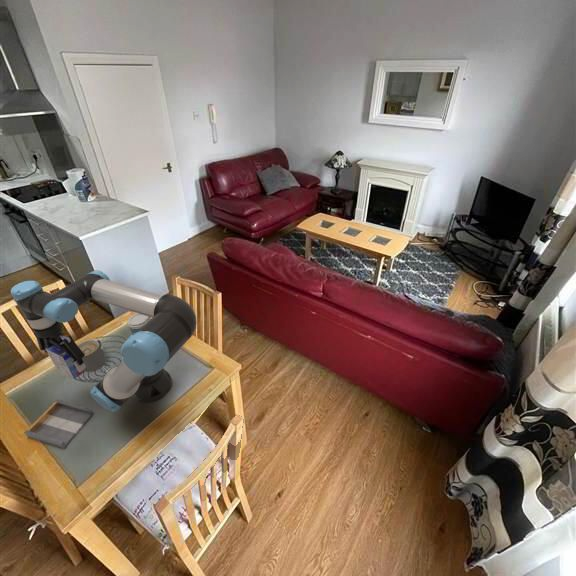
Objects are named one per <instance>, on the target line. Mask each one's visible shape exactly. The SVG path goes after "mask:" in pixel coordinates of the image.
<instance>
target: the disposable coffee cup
mask: <svg viewBox="0 0 576 576" xmlns="http://www.w3.org/2000/svg"><path fill="white" fill-rule="evenodd" d="M151 319H152V318H151V317H148V316H145V315H142V314H139V313H135V314H133V315H131V316H130V317H129V318H128V320H127V321H126V324H127V327H128V328H129V329H130V331H131V333H132V335H133V334H134V333H135V332H137V331H138V330H139V329H140V328H141V327H142V326H144V325H145V324H146V323H147V322H148V321H149V320H151Z"/></svg>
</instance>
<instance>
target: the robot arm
mask: <svg viewBox="0 0 576 576" xmlns="http://www.w3.org/2000/svg"><path fill="white" fill-rule="evenodd" d="M10 295H11V296H12V298H13V301H14V302H15V304H16V305H17V306H18V308H19V309H20V311H21V312H22V314H23V316H24V318H25V319H26V321H27V322H28V325H30V327H31V328H32V331H33V335H34V336H35V338H36V340H37V345H38V348H39V350H40V351H44V352H45V353H46V354H47V355H48V357H49V358H50V356H49V354H48V352H47V350H46V348H49V347H50V346H51V345H53V344H55V345H56V346H57V347H58V348H62V349H63V350H64V351H65V352H66V353H68V354H69V356H70V357H71V358H73V360H72V362H73V363H74V364H75V366H76V368H77V370H78V372H81V371H83V370H84V369H85V368H86V366H85V364H84V362H83V360H82V358H83V357H84V356H85V354H84V353H83V352H82V351H81V349H80V348H79V347H78V346H77V345H78V344H77V343H76V341H74V340H73V337H72V336H71V335H69V334H68V336H65V334H63V332H62V330H63V325H62V323H68V322H70V321H72V320H74V319H75V316H77V315H78V312H79V308H80V307H81V306H83V305H84V304H85V303H87V302H89V301H90V300H94V301H95V300H96V301H98V302H101V303H105V304H107V305H111V306H114V307H116V308H120V309H124V310H127V311H130V312H133V313H135V314H137V313H139V314H142V315H145V316H148V317H151V320H149V321H148V322H147V323H146V324H145V325H144V326H142V327H141V328H140V329H139V330H138V331H137V332H135V333H134V334H133V333H132V334H131V335H130V336H129V337H128V338H127V339H126V340H125V342H124V343H123V344H122V346H121V347H120V356H121V359H122V361H121V362H120V363H119V364H117V365H116V366H115V367H113V368H111V369H109V370H108V371H107V372H106V373H105V375H104V376H103V378H102V379H101V380H100V381H98V382H97V383H96V384H95V385H94V386H93V387H92V388H91V389H90V392H89V394H90V396H91V398H92V399H93V400H95V402H97V403H98V405H100V406H101V407H102V408H104V409H106V410H107V411H109V412H111V413H116V412H118V411H119V410H120V409H122V408H123V406H124V405H125V404H126V402H128V401H129V399H130V398H132V396H133V395H134V397H135V398H136V399H137V400H138V401H139V402H142V403H153V402H156V401H159V400H161V399H163V398H164V397H165V396H166V395H168V393H169V392H170V390H171V388H172V386H173V380H172V379H173V378H172V376H171V374H170V373H169V372H168V371H167V370H166V369H165V367H166V366H167V363H168V362H169V361H170V360H171V359H172V358H173V357H174V356H175V355H176V354H177V353H178V352H179V351H180V349H181V348H183V346H184V345H185V344H186V343H187V342H188V340H190V339H191V337H192V336H193V335H194V333H195V331H196V328H197V325H198V324H197V323H198V322H197V316H196V313H195V310H194V309H193V307H192V306H191V305H190V303H188V302H187V301H186V300H184V299H183V298H181V297H179V296H177V295H173V294H170V293H165V294H163V295H161V294H157V293H154V292H151V291H147V290H143V289H141V288H136V287H133V286H130V285H127V284H122V283H120V282H115V281H112V280H110V277H109V276H108V275H107V274H106V273H104V272H103V271H102V270H96V269H95V270H93V271H91V272H89V273H86V274H85V275H83V276H82V277H80V278H78V279H76V280H75V281H73V282H71V283H70V284H68V285H66V286H64V287H62V288H61V289H59V290H57V291H55V292H54V293H51V292H47V291H45V290H44V289H43V287H42V286H41V284H40V283H39V282H38V281H36V280H26V281H25V280H24V281H22V282H19V283H17V284H15V285H13V287H11V289H10ZM62 342H63V343H62ZM60 343H62V344H61V345H60ZM50 360H51V361H52V359H51V358H50Z"/></svg>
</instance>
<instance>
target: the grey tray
mask: <svg viewBox="0 0 576 576" xmlns="http://www.w3.org/2000/svg"><path fill="white" fill-rule="evenodd" d="M94 414H95V413H94V411H93V410H92V409H91V408H87V407H85V406H81V405H77V404H74V403H71V402H66V401H63V400H59V399H56V400H55V401H54V402H53V403H52V404H51V405H50V406H49V407H48V408H47V409H46V410H45V411H44V412H43V413H42V415H40V416H39V417H38V418H37V419H36V420H35V421H34V422H33V423H32V424H31V425H30V426H29V427H28V428H27V429H26V430H25V431H24V432H23V433H24V435H25V436H26V437H27V438H29V439H32V440H37V441H39V442H41V443H42V442H43V443H45V444H49V445H52V446H55V447H58V448H62V449H65V448H66V447H67V446H68V445H69V444H70V443H71V441H72V440H73V439H74V438H75V437H76V435H77V434H78V433H79V432H80V431H81V430H82V428H83V427H84V426H85V425H86V424H87V422H89V420H91V418H92V417H93V416H94Z"/></svg>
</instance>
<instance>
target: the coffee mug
mask: <svg viewBox="0 0 576 576" xmlns="http://www.w3.org/2000/svg"><path fill="white" fill-rule="evenodd" d="M77 346H78V347H79V348H80V349H81V351H82V352H83V353H84V354H85V356H84V357H83V358H82V360H83V362H84V364H85V366H86V369H87V371H85V373H87V372H89V373H90V372H91V373H92V372H94V371H97V370H99V369H101V368H102V367H103V366H104V365H105V363H106V362H107V357H106V356H105V354H104V351H103V349H102V342H101V340H100V339H99V338H96V339H95V338H94V339H88V340H85V341H82V342H79V343H78V344H77Z"/></svg>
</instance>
